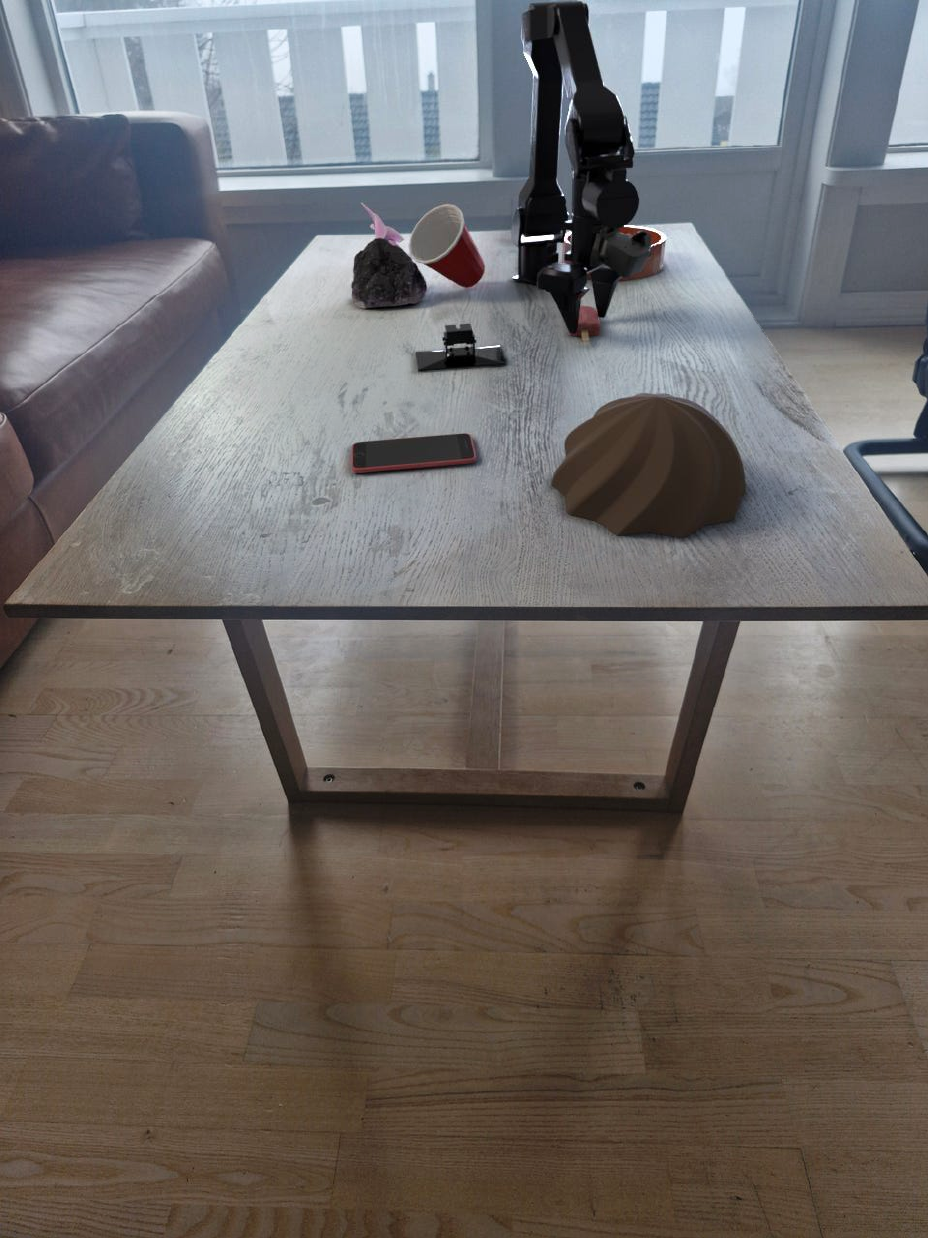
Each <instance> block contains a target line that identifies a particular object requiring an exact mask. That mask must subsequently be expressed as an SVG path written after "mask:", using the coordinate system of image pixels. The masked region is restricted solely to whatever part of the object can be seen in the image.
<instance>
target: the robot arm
mask: <svg viewBox="0 0 928 1238" xmlns="http://www.w3.org/2000/svg"><path fill="white" fill-rule="evenodd" d="M589 13H590V11H589V6H588V3H586V2H583V1H582V0H574V1H573V0H566V1H564V0H563V1H545V2H531V3H529V4H528V9H527V10H526V11H524V12H523V13H522V14H521V17H520V29H519V30H520V38H521V42H522V44H523V54H524V56H525V58H526V60H527V62H528V65H529V67H530V69H531V71H532V74H533V75H532V99H531V101H532V102H531V124H530V148H529V149H530V150H529V151H530V153H529V170H528V171H529V173H528V174H529V175H528V178H527V180H526V182H525V183H524V185H523V187H522V188H521V190H520V191H519V193H518V204H517V207H516V208H515V211H514V214H513V219H512V222H511V226H510V237H511V243H512V244H514V245H515V246H516V247H517V275H514V276H513V277H512V281H515V282H521V283H526V284H531V285H536V288H537V290H541V291H545V292H546V293H549V294H550V296H551V298H552V300H553V301H554V303H555V305H556V307H557V309H558V311H559V313H560V315H561V317H562V320H563V322H564V324H565V326H566V329H567V331H568V334H569V333H573V334H575V333H576V332H577V327H578V321H579V312H580V306H581V303H582V299H583V297H585V296H586V295H587V294H588V292H589V291H590V288H589V287H586V285H587V283H588V279H587V274H588V273H590V276H591V279H590V281H591V285H592V286H591V288H592V293H593V299H594V304H595V309H596V312H597V315H598V319H599V318H600V319H604V318H606V316H607V313H608V310H609V308H610V305H611V302H612V299H613V296H614V293H615V291H616V289H617V286H618V283H619V280H620V278H622V277H624V278H629V277H631V276H632V275H633V274H635V273H639V272H641V270H642V267H643V265H644V262H645V260H646V259H648V258H650V257H651V256H652V253H651V248H652V247H651V234H650V233H648V232H647V231H645V230H642V231H640V232H637V233H636V234H635V235H634V236H633V237H632V238H631V235H630V234H628V235H624V234H622V233H620V230H619V228H621V227H624V226H628V224H630V222H632V221H633V220H634V218H635V216H636V214H637V212H638V210H639V206H640V197H639V193H638V190H637V188H636V186H635V185H634V183H632V182H631V181H629V180H628V179H627V175H628V174H627V173H628V169H633V168H634V156H635V154H636V152H635V147H634V143H633V139H632V134H631V130H630V126H629V124H628V123H629V122H628V118H627V116H626V115H625V114H624V110H623V107H622V105H621V103H620V100H619V98H618V95H616V94H615V93H614V92H612V91H611V90H610V89H609V88H608V87H606V85H605V84H604V81H603V77H602V73H601V69H600V64H599V62H598V58H597V57H598V56H597V53H596V50H595V46H594V41H593V38H592V33H591V30H590V26H589V22H590V14H589ZM564 87H565V90H566V95H567V98H568V103H569V111H568V115H567V119H566V121H565V126H564V144H565V148H566V152H567V155H568V158H569V163H570V165H571V171H572V178H571V179H572V181H571V213H569V212H568V207H567V199H566V196H565V195H564V194H563V193H564V192H563V191H562V189H561V186H560V185H559V183H558V172H559V153H560V140H561V124H562V122H561V121H562V106H563V94H564V93H563V91H564ZM618 153H619V154H618ZM569 217H571V218H570V219H569ZM567 231H569V232H571V249H570V251H568V252H566V253H564V261H570V262H572V264H573V265H571V264H565V263H562V262H559V259H560V258H559V255H560V254H559V251H558V244H563V243H564V240H565V236H566V234H567ZM620 281H621V280H620Z"/></svg>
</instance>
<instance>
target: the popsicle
mask: <svg viewBox="0 0 928 1238" xmlns="http://www.w3.org/2000/svg"><path fill="white" fill-rule="evenodd" d="M600 332H601V322H600V319H599V317H598V314H597V310H596V307H593V306H591V305H590V306H589V305H580V312H579V321H578V327H577V332H576V333H575V334H573V333H569V332H568V335H569V336H572V337H573V336H574V337H577V336H581V339H582V342H584V343H587V342H589V341H590V336H600V335H601V334H600Z"/></svg>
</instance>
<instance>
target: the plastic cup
mask: <svg viewBox="0 0 928 1238" xmlns="http://www.w3.org/2000/svg"><path fill="white" fill-rule="evenodd" d="M408 251H409V257H411V259H412V260H414V262H415V263H418V264H423V265H424V266H427V267H428V268H430V269H432V270H433V271H435V272H437V273H438V274H439V275H441V276H442V277H444V278H446V279H447V280H449V281H451V282H452V283H454V284H456V285H458V286H460V287H462V288H464V289H467V288H472V287H474V286H475V285H478V283H479V282H480V280H482V279H483V276H484V274H485V271H486V270H485V269H486V265H485V261H484V258H483V257H482V255H481V253H480V251H479V248H478V247H477V245H476V243H475V241H474V240H473V237H472V235H471V233H470V232H469V230H468V228H467V226H466V223H465V218H464V215H463V211H462V209H460V208H459V207H458V206H457V205H456V204H450V203H445V204H441V205H438V206H435V207H434V208H432V209H431V210H429V211H428V212H426V213H424V215H423V216H422V217H421V218H420V220H419V221H418V222H417V223H416V224H415V226H414V228H413V230H412V232H411V234H410V237H409V241H408Z"/></svg>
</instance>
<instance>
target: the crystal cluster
mask: <svg viewBox="0 0 928 1238" xmlns="http://www.w3.org/2000/svg"><path fill="white" fill-rule="evenodd" d="M400 247H401V246H400ZM400 247H398V246H396V245H394V246H393V245H392V244H391V243H390V242H389V240H388V239H382V238H376V237H375V238H374V239H373V240H371V241H370V242H368V243H367V244H366V245H365V247H364V248H363V250H359V252H357V253H356V254H355V256H354V257H353V267H352V272H353V277H352V278H353V280H352V282H351V284H350V285H351V299H352V300H351V301H352V302H353V303H355V305H356V306H357V307H358V308H359V309H363V310H364V309H375V308H382V307H397V306H404V305H408V304H417V303H419V302H421V301H423V300H424V299H425V296H426V292H427V291H428V290H427V289H428V285H427V281H426V278H425V276H424V274H423V273H422V271H421V270H420V269H419V267H418V265H417V262H415V261H413V258H412V257H411V256H410V255H408V254H407V252H406V251H405V250H404V249H403V248H402V247H401V248H400Z"/></svg>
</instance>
